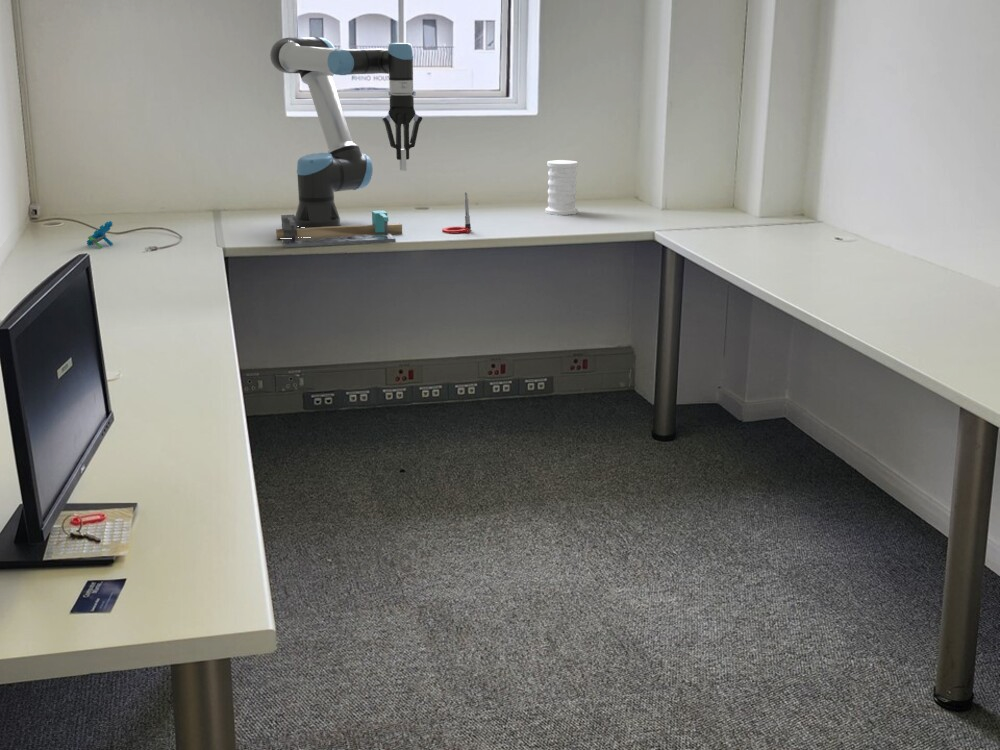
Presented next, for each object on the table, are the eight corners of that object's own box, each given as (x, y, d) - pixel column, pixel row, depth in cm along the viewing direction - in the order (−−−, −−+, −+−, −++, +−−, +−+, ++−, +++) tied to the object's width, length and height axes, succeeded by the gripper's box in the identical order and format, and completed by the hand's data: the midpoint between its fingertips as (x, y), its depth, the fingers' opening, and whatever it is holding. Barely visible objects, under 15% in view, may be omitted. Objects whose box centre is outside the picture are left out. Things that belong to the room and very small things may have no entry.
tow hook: (441, 234, 366) (469, 234, 366) (438, 195, 362) (467, 194, 362) (443, 230, 374) (471, 229, 374) (441, 191, 370) (469, 190, 370)
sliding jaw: (372, 229, 366) (371, 210, 364) (384, 229, 367) (384, 210, 365) (380, 236, 354) (379, 217, 353) (392, 236, 356) (392, 216, 354)
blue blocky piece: (98, 236, 350) (114, 215, 345) (112, 249, 351) (129, 229, 346) (77, 247, 341) (93, 226, 336) (92, 261, 341) (108, 240, 336)
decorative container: (574, 215, 399) (575, 164, 394) (542, 214, 402) (543, 163, 396) (579, 210, 410) (581, 160, 404) (548, 209, 412) (549, 159, 407)
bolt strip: (282, 242, 351) (282, 238, 350) (389, 236, 360) (389, 233, 360) (285, 247, 342) (285, 244, 342) (395, 241, 352) (395, 238, 352)
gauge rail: (276, 237, 357) (274, 215, 355) (399, 231, 369) (399, 209, 366) (280, 245, 346) (279, 222, 344) (408, 238, 357) (407, 215, 355)
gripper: (383, 95, 348) (385, 172, 355) (424, 94, 352) (425, 170, 359) (378, 93, 355) (380, 169, 362) (418, 93, 359) (420, 167, 366)
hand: (403, 169), depth 360 cm, fingers closed
